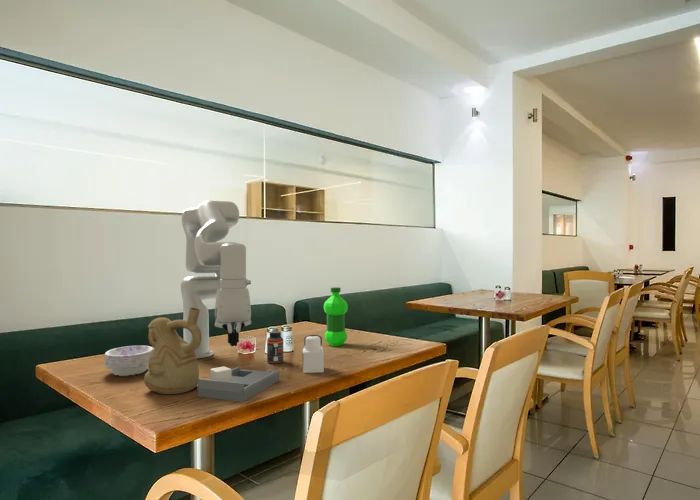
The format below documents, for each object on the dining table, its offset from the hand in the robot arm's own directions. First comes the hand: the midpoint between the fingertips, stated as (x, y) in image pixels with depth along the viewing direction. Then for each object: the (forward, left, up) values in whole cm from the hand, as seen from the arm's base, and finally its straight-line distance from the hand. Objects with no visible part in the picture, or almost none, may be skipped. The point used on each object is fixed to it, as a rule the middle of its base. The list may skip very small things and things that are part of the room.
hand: (233, 345), depth 139 cm
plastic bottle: (+7, +68, -14) cm, 70 cm away
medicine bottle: (+14, +27, -14) cm, 34 cm away
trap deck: (+1, +2, -13) cm, 14 cm away
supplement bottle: (-4, +33, -14) cm, 36 cm away
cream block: (-2, -4, -11) cm, 12 cm away
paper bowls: (-45, +5, -14) cm, 47 cm away
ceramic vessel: (-17, -5, -14) cm, 23 cm away
